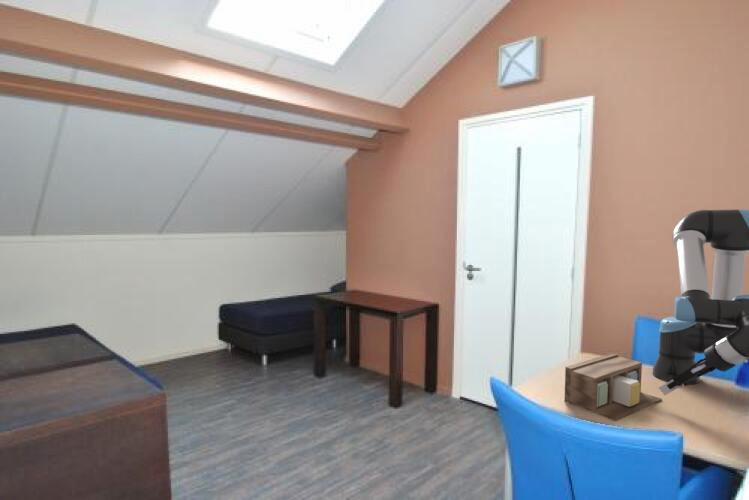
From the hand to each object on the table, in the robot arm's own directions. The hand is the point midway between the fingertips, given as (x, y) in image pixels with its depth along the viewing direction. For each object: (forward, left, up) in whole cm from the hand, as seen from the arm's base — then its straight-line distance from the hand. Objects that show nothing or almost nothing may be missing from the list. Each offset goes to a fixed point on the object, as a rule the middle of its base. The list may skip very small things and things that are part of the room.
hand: (662, 391), depth 148 cm
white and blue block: (+7, -12, -4) cm, 14 cm away
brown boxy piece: (+13, -5, -5) cm, 15 cm away
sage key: (+22, -3, -4) cm, 23 cm away
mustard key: (+12, -2, -4) cm, 12 cm away
